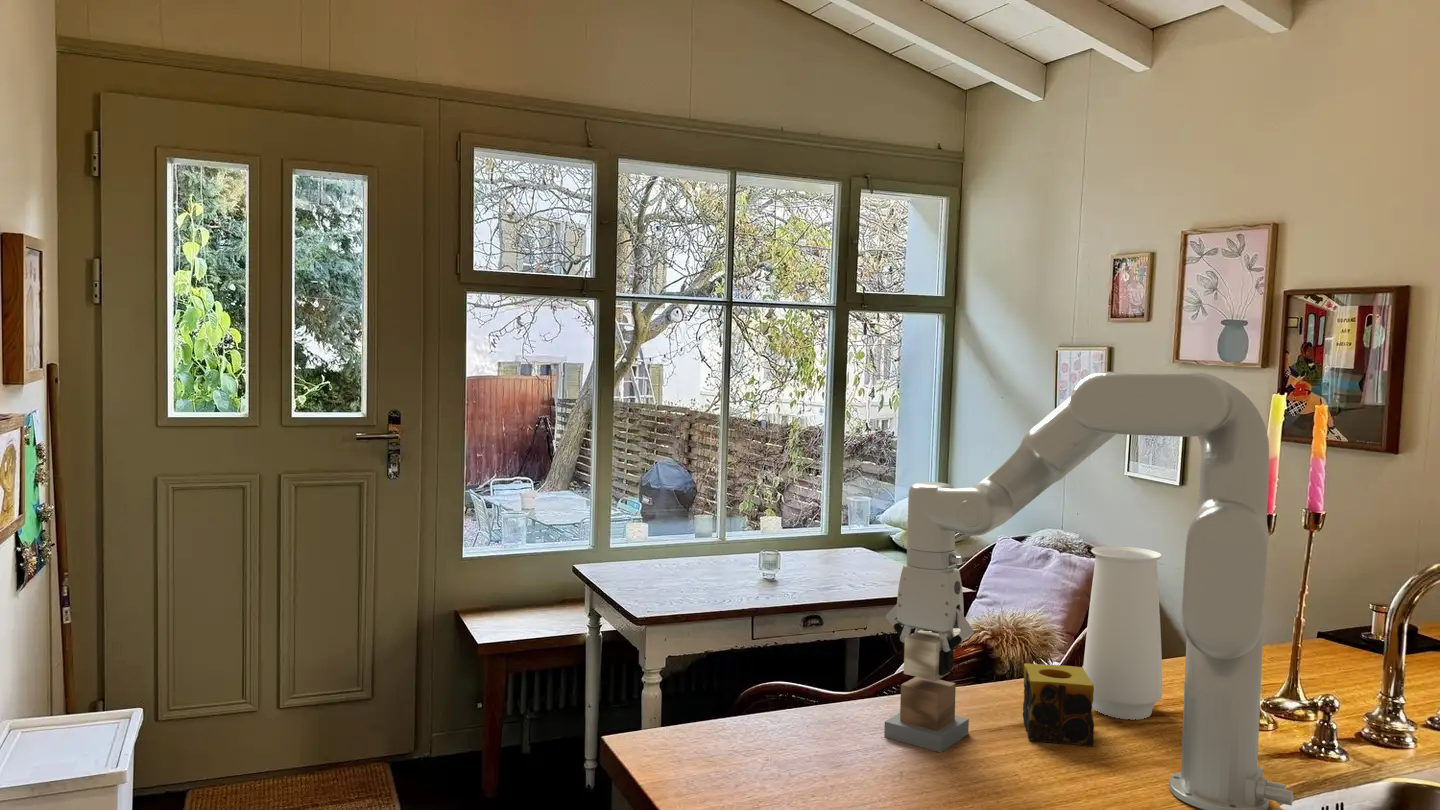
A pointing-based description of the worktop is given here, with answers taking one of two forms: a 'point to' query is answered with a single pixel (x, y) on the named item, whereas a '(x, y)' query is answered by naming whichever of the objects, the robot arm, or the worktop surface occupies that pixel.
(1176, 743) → the worktop surface
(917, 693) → the walnut block
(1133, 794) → the worktop surface
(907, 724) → the slate slab
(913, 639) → the maple block
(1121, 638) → the vase
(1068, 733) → the yellow holed cube
